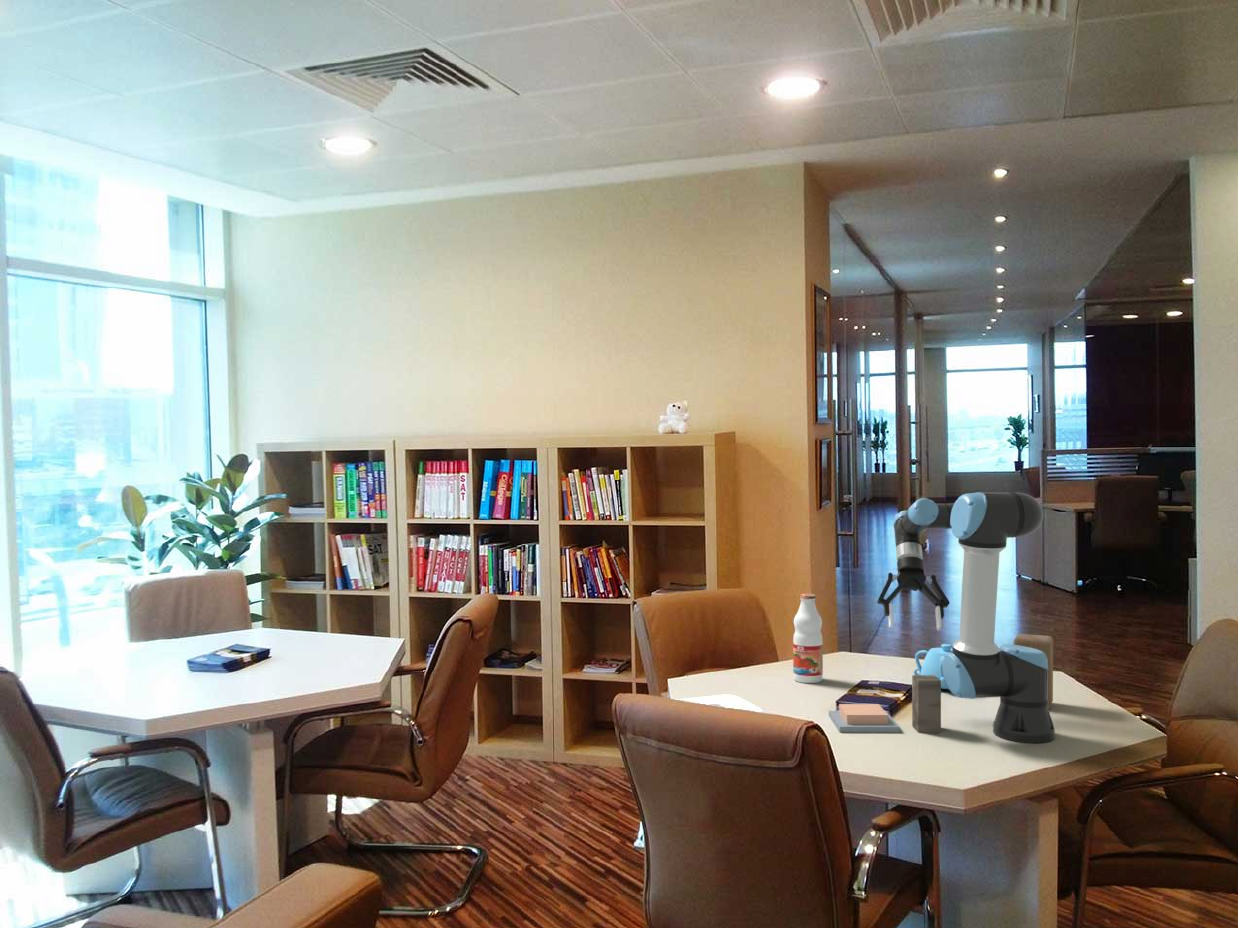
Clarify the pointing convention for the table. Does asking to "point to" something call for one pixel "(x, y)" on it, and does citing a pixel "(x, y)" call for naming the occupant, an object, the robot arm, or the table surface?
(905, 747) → the table surface
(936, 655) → the decorative pot
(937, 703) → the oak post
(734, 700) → the computer
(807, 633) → the fruit juice
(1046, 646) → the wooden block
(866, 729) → the plinth
